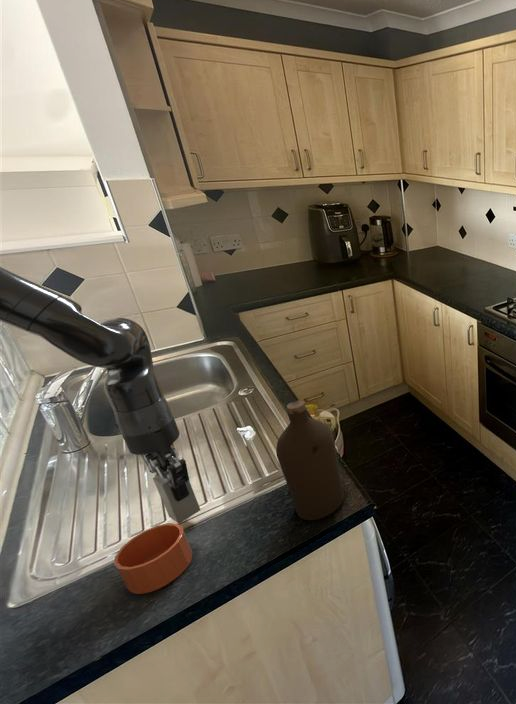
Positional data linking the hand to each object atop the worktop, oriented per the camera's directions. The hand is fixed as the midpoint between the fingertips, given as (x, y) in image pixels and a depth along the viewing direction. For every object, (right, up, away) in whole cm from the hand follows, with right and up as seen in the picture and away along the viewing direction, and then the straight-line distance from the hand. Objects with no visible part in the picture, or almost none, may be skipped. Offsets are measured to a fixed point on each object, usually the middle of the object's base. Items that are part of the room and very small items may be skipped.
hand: (177, 493), depth 82 cm
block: (0, -5, +2) cm, 5 cm away
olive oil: (+26, -5, +6) cm, 27 cm away
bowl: (+3, -11, -8) cm, 13 cm away
